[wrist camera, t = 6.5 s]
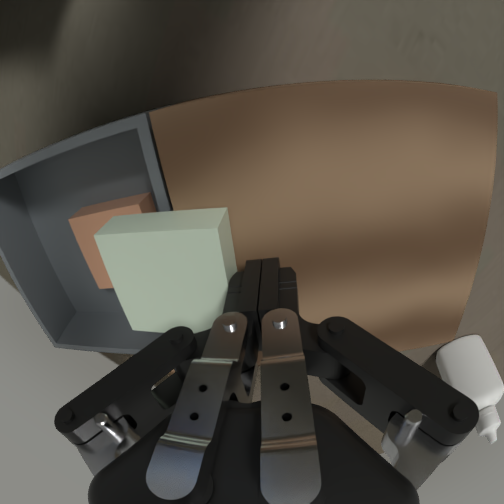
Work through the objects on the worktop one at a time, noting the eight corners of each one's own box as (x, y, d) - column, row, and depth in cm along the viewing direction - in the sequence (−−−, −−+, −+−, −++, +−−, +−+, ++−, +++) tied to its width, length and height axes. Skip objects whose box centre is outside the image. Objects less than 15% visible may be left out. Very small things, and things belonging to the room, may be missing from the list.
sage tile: (113, 216, 15) (93, 235, 13) (227, 207, 14) (217, 228, 12) (145, 306, 18) (132, 330, 16) (243, 309, 17) (237, 336, 15)
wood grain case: (186, 100, 17) (148, 112, 12) (441, 83, 14) (497, 92, 9) (234, 308, 25) (224, 366, 20) (426, 288, 23) (453, 340, 17)
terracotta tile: (138, 204, 18) (150, 192, 19) (68, 219, 19) (82, 207, 20) (167, 284, 21) (175, 267, 22) (99, 288, 22) (109, 273, 23)
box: (12, 162, 19) (-28, 185, 15) (177, 103, 17) (145, 112, 13) (77, 312, 27) (55, 347, 23) (227, 308, 25) (217, 355, 21)
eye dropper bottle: (463, 360, 27) (495, 447, 17) (428, 359, 27) (458, 458, 17) (484, 333, 25) (525, 423, 15) (449, 331, 25) (490, 434, 15)
